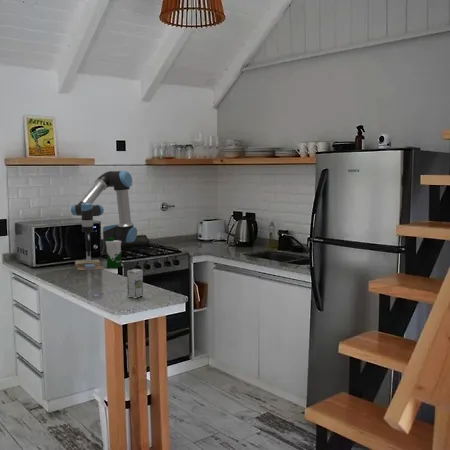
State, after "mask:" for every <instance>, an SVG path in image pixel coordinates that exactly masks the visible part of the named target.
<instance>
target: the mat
mask: <svg viewBox="0 0 450 450" xmlns="http://www.w3.org/2000/svg"><path fill="white" fill-rule="evenodd" d="M76 269H77V271H78V272H80V271H92V270H93V271H94V270H95V271H96V270H103V269H104V268H103V266H102V265H101V266H95V269H85V267H76Z"/></svg>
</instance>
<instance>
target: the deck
mask: <svg viewBox="0 0 450 450" xmlns="http://www.w3.org/2000/svg"><path fill="white" fill-rule="evenodd" d="M74 264H75V265H74V266H75V268H77V267H85V264H94V265H95V266H101V267H102V262H101V261H100V259H98V258H97V259H91V261H87V260H86V259H85V260H84V259H83V260H74Z"/></svg>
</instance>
